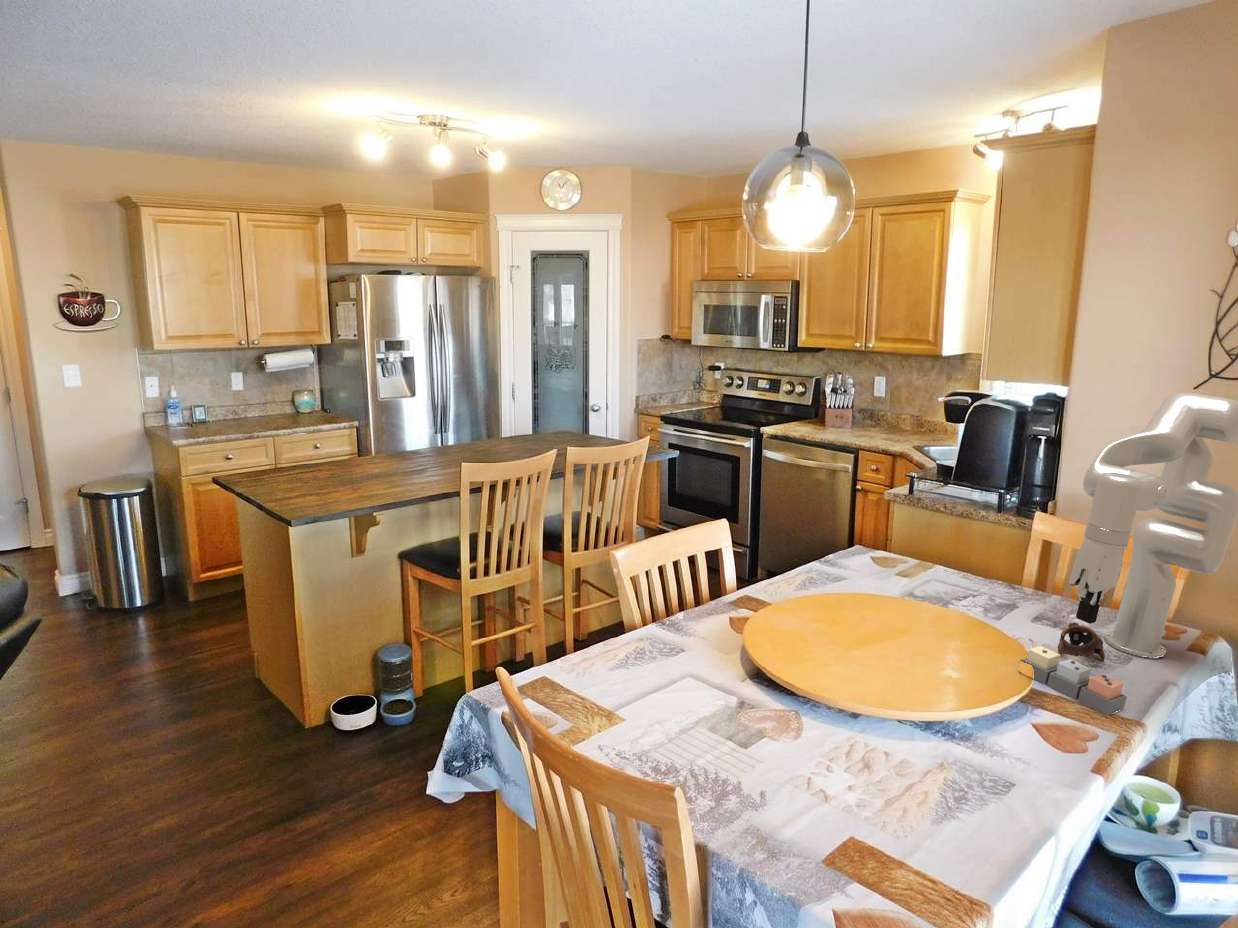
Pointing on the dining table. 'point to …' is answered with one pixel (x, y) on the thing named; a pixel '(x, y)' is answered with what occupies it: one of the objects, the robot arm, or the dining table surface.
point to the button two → (1073, 672)
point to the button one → (1043, 657)
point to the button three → (1105, 686)
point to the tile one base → (1040, 672)
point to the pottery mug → (1090, 642)
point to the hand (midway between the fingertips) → (1085, 620)
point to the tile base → (1101, 701)
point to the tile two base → (1065, 686)
